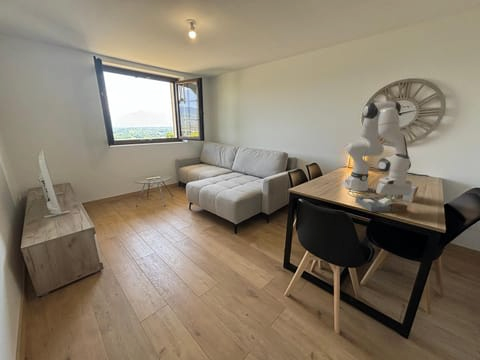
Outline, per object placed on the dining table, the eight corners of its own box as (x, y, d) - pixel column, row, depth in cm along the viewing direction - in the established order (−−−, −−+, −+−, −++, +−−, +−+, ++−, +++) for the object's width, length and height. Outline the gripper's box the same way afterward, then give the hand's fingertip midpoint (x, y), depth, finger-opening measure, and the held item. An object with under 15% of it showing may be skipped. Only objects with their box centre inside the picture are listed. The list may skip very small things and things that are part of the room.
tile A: (369, 198, 136) (369, 202, 137) (362, 198, 136) (362, 202, 136) (374, 201, 131) (374, 205, 132) (367, 201, 131) (366, 205, 132)
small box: (411, 202, 139) (415, 188, 136) (401, 200, 143) (405, 186, 140) (415, 200, 143) (418, 186, 141) (405, 197, 148) (408, 184, 145)
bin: (355, 201, 138) (356, 197, 137) (372, 202, 138) (373, 197, 138) (370, 211, 123) (371, 206, 122) (389, 211, 123) (391, 206, 122)
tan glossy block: (373, 202, 139) (374, 196, 137) (387, 202, 139) (388, 196, 138) (390, 211, 123) (392, 205, 122) (406, 211, 123) (407, 205, 122)
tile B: (379, 204, 129) (377, 200, 128) (386, 200, 128) (385, 197, 127) (384, 207, 124) (383, 203, 123) (392, 203, 123) (391, 200, 123)
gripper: (408, 179, 125) (403, 199, 129) (376, 179, 125) (372, 199, 128) (417, 181, 119) (411, 203, 123) (384, 181, 118) (379, 203, 122)
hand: (391, 201), depth 126 cm, fingers closed
